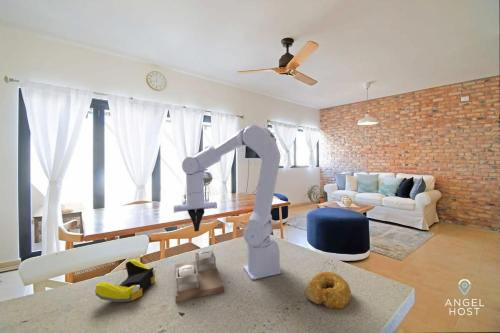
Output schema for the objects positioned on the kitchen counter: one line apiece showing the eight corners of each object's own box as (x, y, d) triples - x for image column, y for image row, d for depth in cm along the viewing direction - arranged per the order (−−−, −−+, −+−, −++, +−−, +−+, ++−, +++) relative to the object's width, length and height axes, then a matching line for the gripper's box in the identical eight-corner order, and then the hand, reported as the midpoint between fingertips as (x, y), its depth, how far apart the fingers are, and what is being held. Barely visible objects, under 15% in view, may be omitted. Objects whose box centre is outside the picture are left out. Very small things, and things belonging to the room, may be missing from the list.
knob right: (210, 261, 71) (210, 249, 71) (212, 267, 67) (212, 254, 67) (198, 263, 69) (197, 251, 69) (199, 269, 66) (199, 256, 65)
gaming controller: (91, 308, 52) (131, 310, 51) (90, 286, 52) (130, 287, 51) (130, 274, 67) (162, 275, 66) (129, 257, 67) (161, 257, 66)
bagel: (298, 288, 58) (298, 271, 58) (334, 283, 61) (335, 266, 60) (317, 315, 49) (318, 294, 48) (360, 307, 51) (361, 287, 51)
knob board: (212, 262, 73) (212, 247, 73) (223, 291, 57) (223, 272, 57) (175, 269, 69) (174, 253, 69) (175, 302, 53) (175, 282, 53)
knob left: (194, 277, 61) (193, 263, 61) (195, 285, 57) (195, 270, 57) (179, 280, 60) (178, 266, 60) (179, 288, 56) (179, 273, 56)
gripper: (214, 188, 82) (215, 224, 82) (173, 191, 77) (174, 229, 78) (217, 191, 75) (218, 230, 76) (173, 194, 70) (174, 236, 71)
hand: (196, 230), depth 76 cm, fingers closed
